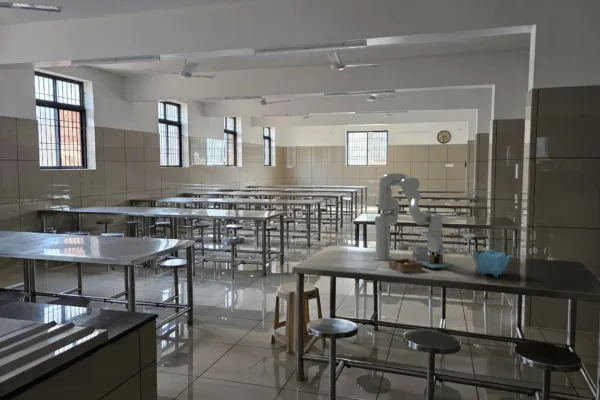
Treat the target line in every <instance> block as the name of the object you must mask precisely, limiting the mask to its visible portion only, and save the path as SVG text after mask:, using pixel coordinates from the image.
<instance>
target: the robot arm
mask: <svg viewBox="0 0 600 400" xmlns="http://www.w3.org/2000/svg"><path fill="white" fill-rule="evenodd" d="M399 186H400V187H401V189H402V192H403V194H404V195H405V197H406V199H407V201H408V210H409V214H410V216H411V218H412V220H413V222H414V223H415V224H417V225H418V226H423V225H429V233H428V237H427V242H426V243H427V244H426V246H427V250H428V254H429V255H435V261H434V263H435V264H436V263H439V257H440V255H444V254H443V249H444V243H443V242H444V240H443V215H442V214H441V213H434V212H422V211H421V210H420V207H419V202H420V200H421V198H422V195H421V194H420V191H419V190H418V189H419V188H420V180H419V179H418V178H416V177H414V176H412V175H408V174H404V173H402V172H400V173H399V172H397V173H396V172H393V173H392V172H391V173H390V172H389V173H386V174H384V175H382V176H381V178H380V179H379V186H378V187H379V188H378V189H379V192H378V202H377V204H378V205H377V207H378V210H379V211H381V212H382V213H378V214H377V215H376V216H375V218H374V225H375V251H373V254H374V255H373V257H372V258H373V259H374V260H375V261H376V260H377V261H389V260H393V257H392V256H390V252H391V251H390V249H391V248H390V247H391V232H390V227H393V226H395V225H397V223H398V220H399V207H400V205H399V201H398V199H397V198H396V197H394V196H392V195H393V190H392V187H399Z"/></svg>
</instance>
